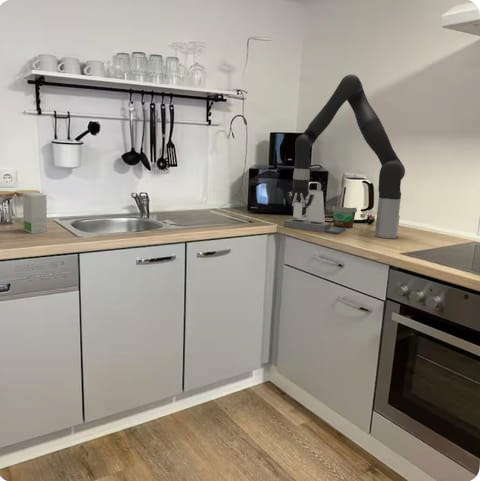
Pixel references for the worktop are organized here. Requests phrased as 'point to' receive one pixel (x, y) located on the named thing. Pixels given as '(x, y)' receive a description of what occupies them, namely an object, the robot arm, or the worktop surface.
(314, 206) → the grater
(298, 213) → the block
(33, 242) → the worktop surface
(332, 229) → the phone
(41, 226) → the skincare box
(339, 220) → the food container
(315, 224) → the power strip
